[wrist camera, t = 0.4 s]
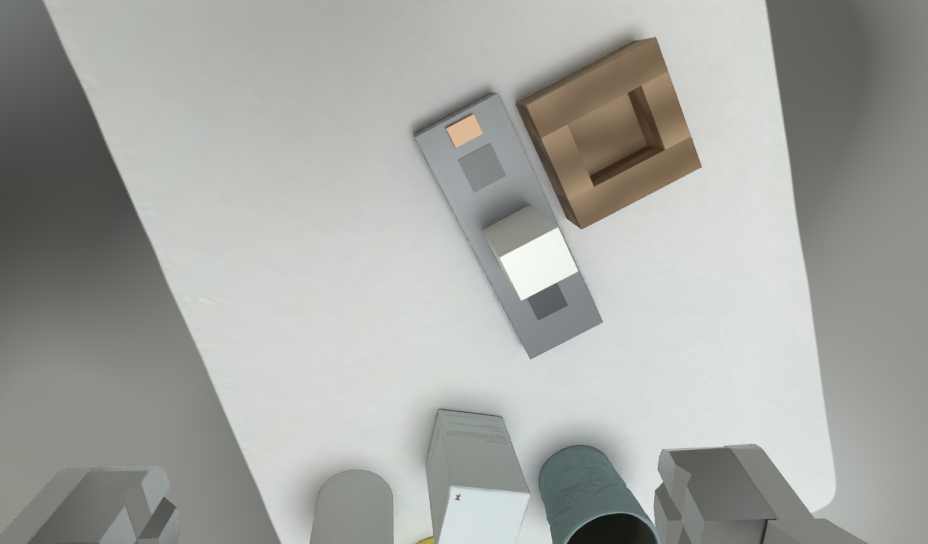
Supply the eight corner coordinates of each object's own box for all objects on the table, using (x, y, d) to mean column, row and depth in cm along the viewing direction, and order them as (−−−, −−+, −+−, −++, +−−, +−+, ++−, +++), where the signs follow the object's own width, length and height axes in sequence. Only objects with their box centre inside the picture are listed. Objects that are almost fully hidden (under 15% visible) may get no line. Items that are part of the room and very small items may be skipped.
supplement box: (423, 466, 63) (431, 555, 51) (438, 406, 61) (450, 484, 49) (489, 474, 65) (512, 562, 53) (505, 416, 63) (532, 493, 51)
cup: (347, 545, 65) (339, 641, 54) (301, 497, 63) (281, 588, 51) (407, 506, 65) (411, 595, 53) (363, 456, 62) (357, 539, 51)
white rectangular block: (478, 225, 55) (499, 257, 44) (525, 200, 55) (558, 227, 44) (496, 261, 56) (521, 300, 46) (543, 236, 56) (578, 271, 46)
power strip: (413, 134, 53) (415, 138, 49) (492, 92, 52) (499, 93, 49) (523, 346, 60) (532, 362, 57) (592, 311, 60) (605, 324, 57)
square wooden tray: (515, 104, 53) (526, 105, 49) (634, 41, 53) (655, 37, 48) (567, 218, 57) (581, 229, 53) (678, 160, 56) (701, 167, 52)
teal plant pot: (602, 518, 68) (644, 604, 57) (519, 509, 67) (546, 596, 55) (627, 443, 66) (677, 518, 54) (542, 432, 64) (575, 507, 52)
